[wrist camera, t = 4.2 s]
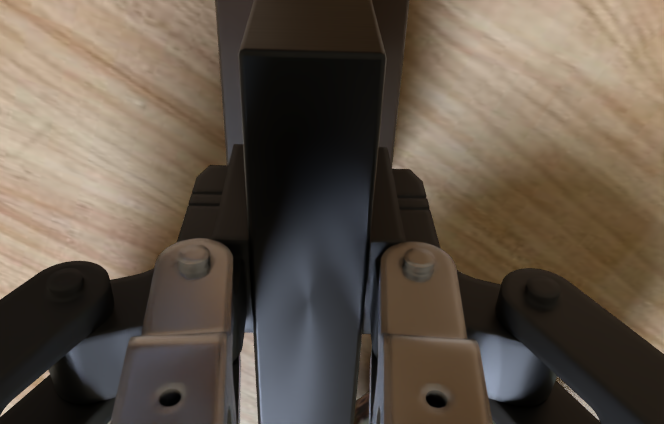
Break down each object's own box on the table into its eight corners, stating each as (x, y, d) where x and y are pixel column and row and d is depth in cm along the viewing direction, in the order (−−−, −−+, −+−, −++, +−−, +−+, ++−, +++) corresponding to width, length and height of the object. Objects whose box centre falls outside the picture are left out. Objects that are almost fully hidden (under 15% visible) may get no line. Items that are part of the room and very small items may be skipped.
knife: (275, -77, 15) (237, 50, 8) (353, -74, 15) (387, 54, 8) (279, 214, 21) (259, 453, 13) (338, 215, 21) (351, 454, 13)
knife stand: (227, -128, 17) (206, -110, 14) (401, -122, 18) (420, -103, 14) (244, 194, 24) (233, 259, 20) (373, 197, 24) (382, 262, 21)
